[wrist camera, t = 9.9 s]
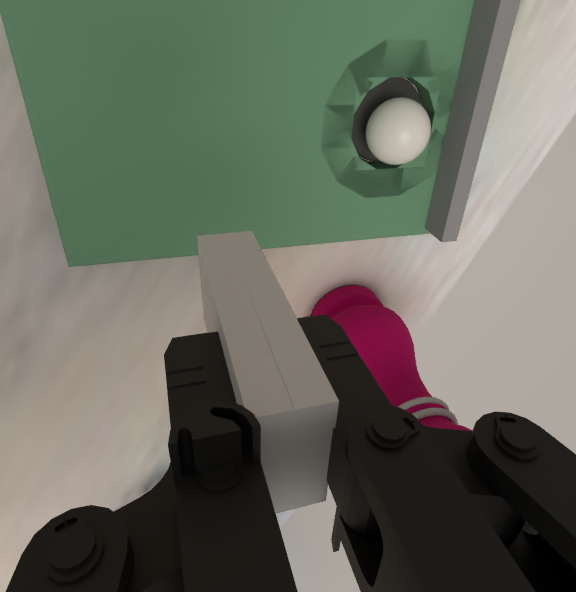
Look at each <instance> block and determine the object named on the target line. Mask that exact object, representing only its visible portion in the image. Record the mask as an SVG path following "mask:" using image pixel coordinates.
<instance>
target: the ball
mask: <svg viewBox="0 0 576 592" xmlns="http://www.w3.org/2000/svg"><path fill="white" fill-rule="evenodd" d="M430 133H431V124H430V119H429V116H428V114H427V112H426V110H425V109H424V108H423V107H422V106H421V105H420V104H419V103H418V102H416V101H414V100H412V99H409V98H402V97H400V98H393V99H390V100H387V101H385V102H383V103H382V104H381V105H379V106H378V107H377V108H376V109H375V110H374V111H373V113H372V114H371V116H370V118H369V120H368V123H367V126H366V141H367V145H368V147H369V149H370V151H371V152H372V154H373V155H374V156H375V157H376V158H377V159H379V160H380V161H382V162H384V163H387V164H392V165H400V164H404V163H407V162H410V161H412V160H413V159H415V158H416V157H418V156H419V155H420V154H421V153H422V151H423V150H424V149H425V147H426V145H427V144H428V141H429V138H430Z"/></svg>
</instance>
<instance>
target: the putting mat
mask: <svg viewBox="0 0 576 592" xmlns="http://www.w3.org/2000/svg"><path fill="white" fill-rule="evenodd" d="M519 3H520V0H0V12H1V16H2V20H3V23H4V27H5V31H6V35H7V38H8V42H9V46H10V49H11V53H12V57H13V61H14V64H15V68H16V72H17V76H18V79H19V83H20V87H21V90H22V94H23V98H24V102H25V105H26V109H27V113H28V117H29V120H30V124H31V128H32V131H33V135H34V139H35V143H36V146H37V150H38V154H39V158H40V161H41V165H42V169H43V172H44V176H45V180H46V184H47V187H48V191H49V195H50V199H51V202H52V206H53V210H54V213H55V217H56V221H57V225H58V228H59V232H60V236H61V240H62V243H63V247H64V251H65V254H66V258H67V262H68V266H69V267H73V266H84V265H95V264H106V263H116V262H127V261H138V260H149V259H160V258H170V257H181V256H192V255H199V252H198V240H197V236H201V235H212V234H222V233H233V232H244V231H252V232H253V234H254V236H255V238H256V240H257V242H258V244H259V246H260V248H261V249H267V248H278V247H289V246H299V245H310V244H321V243H332V242H343V241H353V240H364V239H375V238H386V237H396V236H407V235H418V234H429V233H431V234H432V235H434V236H435V237H436V238H437V239H438V240H440V241H441V242H448V241H456V240H457V236H458V233H459V229H460V226H461V222H462V218H463V214H464V211H465V207H466V203H467V199H468V195H469V192H470V188H471V184H472V180H473V177H474V173H475V169H476V165H477V161H478V158H479V154H480V150H481V146H482V143H483V139H484V135H485V131H486V128H487V124H488V120H489V116H490V112H491V109H492V105H493V101H494V97H495V94H496V90H497V86H498V82H499V79H500V75H501V71H502V67H503V63H504V60H505V56H506V52H507V48H508V45H509V41H510V37H511V33H512V29H513V26H514V22H515V18H516V14H517V11H518V7H519ZM401 77H405V78H407V79H408V80H409V81H410V82H412V83H413V84H414V85H415V86H416V87H417V90H418V93H417V91H416V89H415V88H414V87H413V85H412V84H411V83H410V82H408V81H407V80H405V79H403V78H401ZM418 94H419V95H418ZM400 97H402V98H409V99H412V100H414V101H416V102H418V103H419V104H420V105H421V103H422V107H423V108H424V109H425V110H426V112H427V114H428V116H429V119H430V124H431V133H430V138H429V141H428V144H427V145H426V147H425V149H424V150H423V151H422V153H421V154H420V155H419V156H418V157H416V158H415V159H413V160H412V161H410V162H407V163H404V164H400V165H392V164H387V163H384V162H382V161H380V160H379V159H377V158H376V157H375V156H374V155H373V154H372V152H371V151H370V149H369V147H368V145H367V141H366V126H367V123H368V120H369V118H370V116H371V114H372V113H373V111H374V110H375V109H376V108H377V107H378V106H379V105H381V104H382V103H383V102H385V101H387V100H390V99H393V98H400ZM419 97H420V98H419ZM420 100H421V102H420ZM358 155H360V156H361V157H363V158H365V159H367V160H372V161H377V162H366V161H365V160H363V159H361V158H360V157H359V156H358Z"/></svg>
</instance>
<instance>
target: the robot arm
mask: <svg viewBox="0 0 576 592" xmlns="http://www.w3.org/2000/svg"><path fill="white" fill-rule="evenodd" d="M197 240H198V252H199V264H200V276H201V287H202V299H203V311H204V320H205V324H206V329H207V333H203V334H196V335H189V336H182V337H176V338H172V340H171V342H170V344H169V346H168V348H167V350H166V352H165V354H164V359H165V370H166V381H167V390H168V402H169V413H170V423H171V430H170V436H169V442H168V448H169V454H170V460H171V463H170V466H169V469H168V470H167V472H166V473H165V475H164V476H163V478H162V480H161V481H160V482H159V483H158V484H157V485H156V486H155V487H154V488H153V489H152V490H150V491H149V492H147V493H146V494H144V495H143V496H141V497H140V498H138V499H136V500H134V501H133V502H131V503H129V504H127V505H125V506H123V507H121V508H120V509H118V510H116V511H114V512H113V511H112V510H110V509H109V508H105V507H99V506H93V505H89V506H84V507H79V508H74V509H70V510H68V511H66V512H65V513H63V514H61V515H59V516H57V517H55V518H53V519H51V520H50V521H49V522H48V523H47V524H46V525H45V526H44V527H42V528H41V529H40V530H39V531H38V532H37V533H36V534H35V535H34V536H33V538H32V539H31V541H30V542H29V544H28V546H27V547H26V549H25V550H24V552H23V554H22V555H21V558H20V560H19V562H18V565H17V567H16V569H15V571H14V574H13V576H12V578H11V581H10V583H9V585H8V588H7V590H6V592H297V589H296V585H295V581H294V578H293V574H292V570H291V567H290V563H289V560H288V556H287V553H286V549H285V546H284V542H283V539H282V535H281V531H280V528H279V524H278V521H277V517H276V513H280V512H283V511H287V510H291V509H295V508H299V507H303V506H307V505H311V504H314V503H319V502H323V501H325V500H326V494H327V487H328V485H329V488H330V490H331V492H332V495H333V497H334V500H335V502H336V505H337V508H336V514H335V520H334V526H333V532H332V539H331V540H332V546H333V552H336V551H338V550H339V547H340V541H342V544H343V547H344V549H345V552H346V554H347V557H348V560H349V562H350V565H351V567H352V570H353V573H354V575H355V578H356V580H357V583H358V585H359V588H360V591H361V592H576V454H574V453H573V452H572V451H571V450H569V449H568V448H567V447H565V446H564V445H563V444H562V443H560V442H559V441H558V440H556V439H555V438H554V437H552V436H551V435H550V434H549V433H547V432H546V431H545V430H544V429H542V428H541V427H540V426H538V425H536V424H535V423H533V422H531V421H530V420H528V419H526V418H524V417H521V416H518V415H515V414H512V413H506V412H492V413H489V414H485V415H483V416H482V417H481V418H480V419H479V420H478V421H477V422H476V423H475V426H474V429H473V431H468V430H454V429H441V428H433V427H427V426H424V425H422V423H421V422H420V421H419V420H418V419H417V418H416V417H415V416H414V415H413V414H411V413H409V412H407V411H406V410H404V409H402V408H400V407H396V406H392V404H391V403H390V402H389V400H388V399H387V397H386V396H385V394H384V392H383V391H382V389H381V388H380V386H379V385H378V383H377V381H376V380H375V378H374V377H373V375H372V374H371V372H370V370H369V369H368V367H367V366H366V364H365V363H364V361H363V359H362V358H361V356H359V354H358V351H357V350H356V348H355V347H354V345H353V344H351V340H350V339H349V337H348V336H347V334H346V333H345V331H344V329H343V328H342V326H341V325H339V324H338V323H336V322H335V321H334V320H332V319H331V318H329V317H328V316H327V315H325V314H324V315H317V316H310V317H303V318H296V316H295V314H294V312H293V310H292V308H291V306H290V305H289V303H288V301H287V299H286V297H285V295H284V293H283V291H282V289H281V287H280V285H279V283H278V281H277V279H276V277H275V275H274V273H273V271H272V269H271V267H270V266H269V264H268V262H267V260H266V258H265V256H264V254H263V252H262V250H261V248H260V246H259V244H258V242H257V240H256V238H255V236H254V234H253V232H252V231H244V232H233V233H222V234H212V235H201V236H197Z"/></svg>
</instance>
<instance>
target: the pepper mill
mask: <svg viewBox="0 0 576 592" xmlns="http://www.w3.org/2000/svg"><path fill="white" fill-rule="evenodd" d="M324 314H325V315H327V316H328V317H329V318H331V319H332V320H334V321H335V322H336V323H338V324H339V325H341V326H342V328H343V329H344V331H345V333H346V334H347V336H348V337H349V339H350V340H351V344H353V345H354V347H355V348H356V350H357V351H358V354H359V356H361V358H362V359H363V361H364V363H365V364H366V366H367V367H368V369H369V370H370V372H371V374H372V375H373V377H374V378H375V380H376V381H377V383H378V385H379V386H380V388H381V389H382V391H383V392H384V394H385V396H386V397H387V399H388V400H389V402H390V403H391V404H392V406H396V407H400V408H402V409H404V410H406V411H407V412H409V413H411V414H413V415H414V416H415V417H416V418H417V419H418V420H419V421H420V422H421V423H422V425H424V426H427V427H433V428H441V429H454V430H468V431H472V430H470V429H468V428H466V427H464V426H460V425H458V423H457V419H456V417H455V415H454V414H453V413H451V412H450V411H449V408H448V406H447V405H446V404H445V403H444V402H443V401H442V400H440V399H437V398H434V397H432V396H431V395H430V394H429V392H428V391H427V389H426V388H425V386H424V384H423V382H422V381H421V379H420V376H419V374H418V371H417V367H416V360H415V352H414V344H413V341H412V338H411V335H410V333H409V330H408V328H407V327H406V325H405V324H404V322H403V321H402V319H401V318H400V317H399V316H398V315H397V314H396V313H395V312H394V311H392V310H390V309H388V308H385V307H383V305H382V303H381V302H380V301H379V299H378V298H377V297H376V296H375V294H374V293H373V292H372V291H371V290H369V289H367V288H365V287H362V286H354V285H350V286H345V287H340V288H338V289H335V290H333V291H331V292H329V293H328V294H327V295H325V296H324V297H323V298H322V299H321V300H320V301H319V302H318V304H317V305H316V306H315V308H314V310H313V312H312V315H311V316H317V315H324Z"/></svg>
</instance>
